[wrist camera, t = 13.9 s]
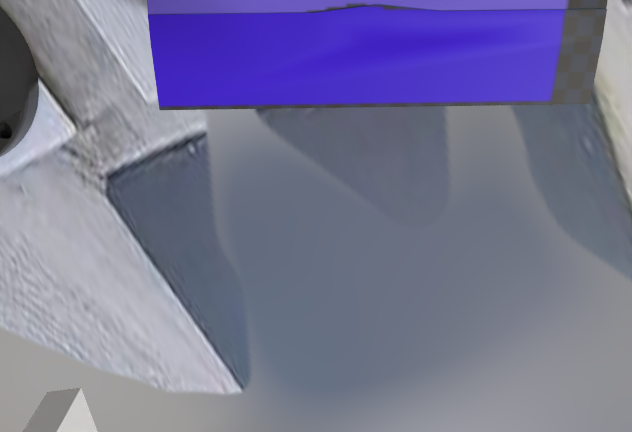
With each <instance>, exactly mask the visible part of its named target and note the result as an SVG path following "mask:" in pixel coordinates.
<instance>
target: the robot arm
mask: <svg viewBox="0 0 632 432" xmlns="http://www.w3.org/2000/svg"><path fill="white" fill-rule="evenodd" d="M38 96H39V87H38V77H37V71H36V66H35V63H34V60H33V57H32V54H31V51H30V49H29V47H28V45H27V43H26V41H25V39H24V37H23V35H22V34H21V32H20V30H19V29H18V28H17V26H16V25H15V23H14V22H13V21H12V19H11V18H10V17H9V16H8V15H7V14H6V12H5V11H4V10H3V9H2V8H1V7H0V157H1V156H3V155H4V154H6V153H7V152H9V151H10V150H12V149H13V148H14V147H15V146H16V145H17V144H18V143H19V142H20V141H21V140H22V139H23V138H24V136H25V135H26V133H27V132H28V130H29V128H30V127H31V124H32V122H33V120H34V117H35V114H36V110H37V105H38ZM23 432H97V429H96V427H95V424H94V422H93V419H92V416H91V414H90V411H89V408H88V405H87V403H86V400H85V397H84V395H83V392H82V389H81V388H76V389H68V390H60V391H52V392H47V394H46V396H45V397H44V399H43V400H42V402H41V403H40V405H39V407H38V408H37V410H36V411H35V413H34V415H33V416H32V418H31V419H30V421H29V423H28V424H27V426H26V427H25V429H24V430H23Z"/></svg>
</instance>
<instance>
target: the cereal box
mask: <svg viewBox="0 0 632 432" xmlns="http://www.w3.org/2000/svg"><path fill="white" fill-rule="evenodd" d="M147 6H148V20H149V30H150V40H151V48H152V56H153V63H154V71H155V78H156V86H157V93H158V101H159V108H160V110H196V109H267V108H339V107H410V106H473V105H474V106H477V105H479V106H480V105H553V104H589V102H590V97H591V92H592V87H593V82H594V78H595V73H596V68H597V63H598V58H599V53H600V48H601V43H602V38H603V31H604V24H605V17H606V11H607V9H606V6H607V0H147Z"/></svg>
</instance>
